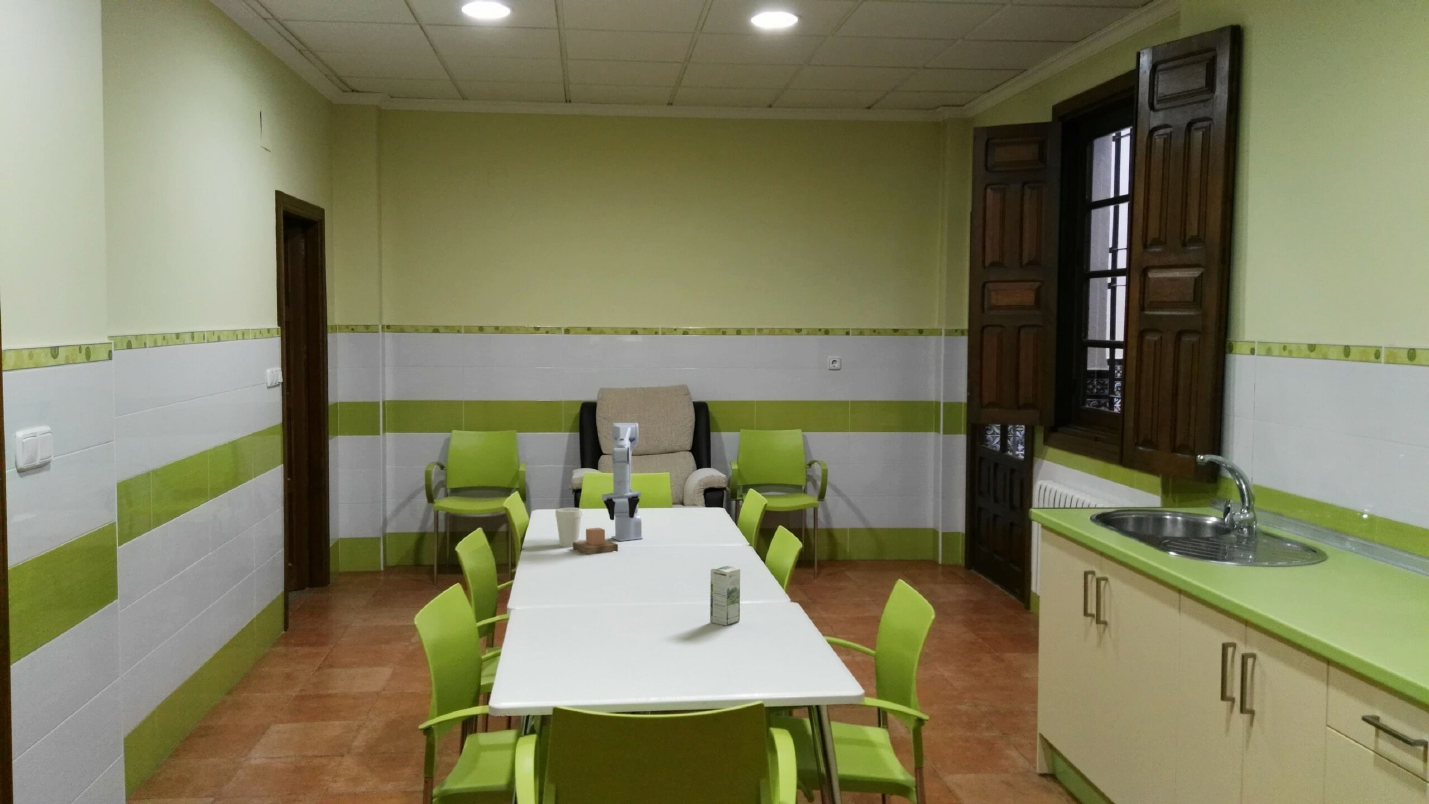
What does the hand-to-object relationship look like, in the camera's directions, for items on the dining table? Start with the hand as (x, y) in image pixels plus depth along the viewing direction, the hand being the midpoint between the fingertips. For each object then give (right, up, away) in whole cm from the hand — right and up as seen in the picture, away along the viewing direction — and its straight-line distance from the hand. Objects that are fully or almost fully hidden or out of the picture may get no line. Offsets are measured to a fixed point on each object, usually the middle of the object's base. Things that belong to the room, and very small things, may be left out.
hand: (621, 518), depth 379 cm
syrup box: (+36, -17, -99) cm, 106 cm away
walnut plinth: (-9, -11, -4) cm, 15 cm away
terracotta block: (-9, -8, -4) cm, 13 cm away
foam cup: (-20, -10, +5) cm, 23 cm away
